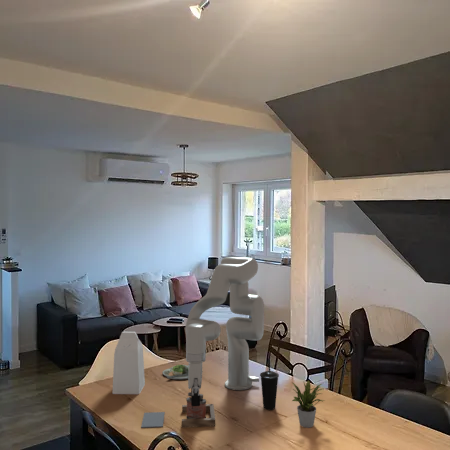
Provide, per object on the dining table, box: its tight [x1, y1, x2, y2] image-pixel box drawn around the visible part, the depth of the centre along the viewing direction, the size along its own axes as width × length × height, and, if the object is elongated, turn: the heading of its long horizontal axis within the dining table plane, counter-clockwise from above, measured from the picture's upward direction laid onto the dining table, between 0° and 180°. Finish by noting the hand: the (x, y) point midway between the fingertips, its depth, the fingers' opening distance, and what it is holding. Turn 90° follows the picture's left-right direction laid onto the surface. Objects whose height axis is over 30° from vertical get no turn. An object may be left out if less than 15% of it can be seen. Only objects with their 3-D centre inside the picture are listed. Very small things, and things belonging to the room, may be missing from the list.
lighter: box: [185, 392, 207, 419], centre depth 174 cm, size 8×3×10 cm, turn 71°
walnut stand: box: [181, 403, 216, 428], centre depth 174 cm, size 12×14×2 cm
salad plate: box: [162, 364, 189, 380], centre depth 222 cm, size 19×18×5 cm
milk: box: [111, 331, 146, 395], centre depth 204 cm, size 12×12×26 cm
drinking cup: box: [259, 358, 280, 411], centre depth 183 cm, size 8×8×20 cm
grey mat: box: [140, 411, 165, 429], centre depth 173 cm, size 8×12×1 cm, turn 5°
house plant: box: [291, 379, 326, 429], centre depth 168 cm, size 14×14×16 cm
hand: (195, 400), depth 173 cm, fingers open, 9 cm apart
